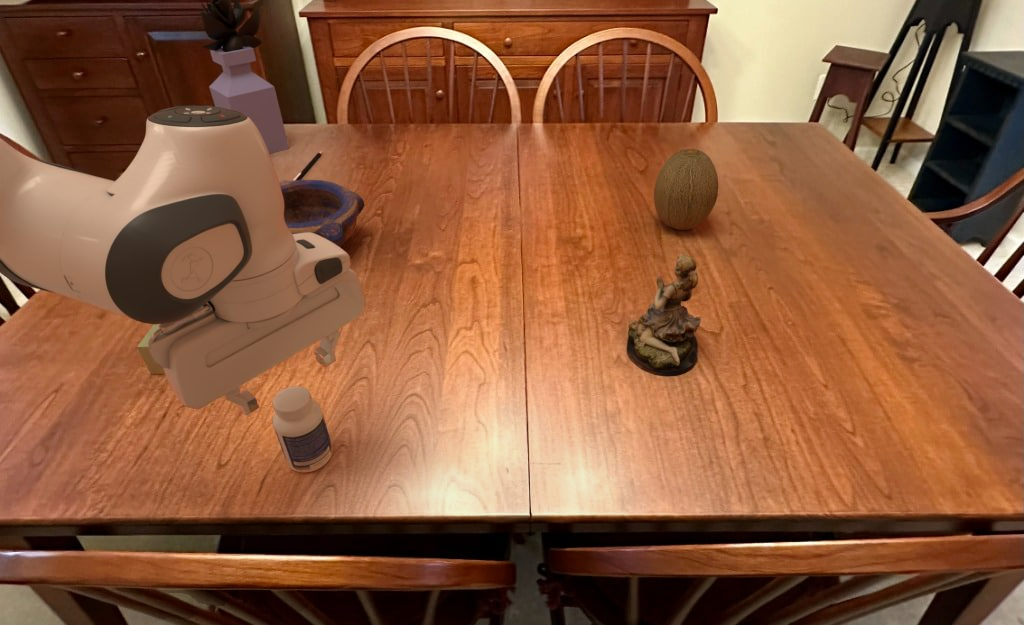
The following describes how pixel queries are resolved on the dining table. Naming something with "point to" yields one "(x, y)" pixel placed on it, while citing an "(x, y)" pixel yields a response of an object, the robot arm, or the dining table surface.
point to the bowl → (321, 209)
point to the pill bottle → (301, 429)
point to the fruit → (686, 189)
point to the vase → (242, 70)
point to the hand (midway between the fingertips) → (289, 384)
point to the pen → (308, 166)
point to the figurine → (667, 326)
